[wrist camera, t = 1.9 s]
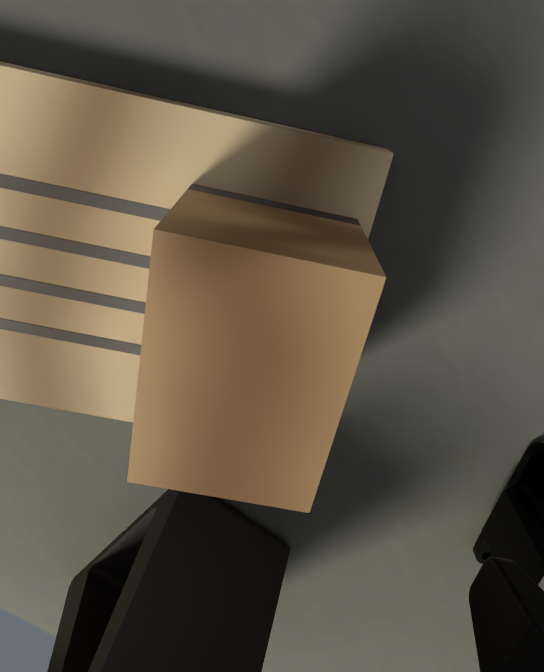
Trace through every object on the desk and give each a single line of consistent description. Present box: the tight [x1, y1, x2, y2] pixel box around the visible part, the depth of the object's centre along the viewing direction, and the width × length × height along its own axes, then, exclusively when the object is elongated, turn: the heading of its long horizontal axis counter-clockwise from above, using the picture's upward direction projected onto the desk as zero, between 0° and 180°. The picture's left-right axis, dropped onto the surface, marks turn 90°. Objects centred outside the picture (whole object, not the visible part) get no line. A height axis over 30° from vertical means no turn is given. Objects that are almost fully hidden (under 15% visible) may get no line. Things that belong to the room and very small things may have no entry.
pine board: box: [0, 61, 394, 422], centre depth 17 cm, size 18×11×1 cm, turn 78°
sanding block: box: [127, 184, 386, 513], centre depth 15 cm, size 5×7×5 cm
